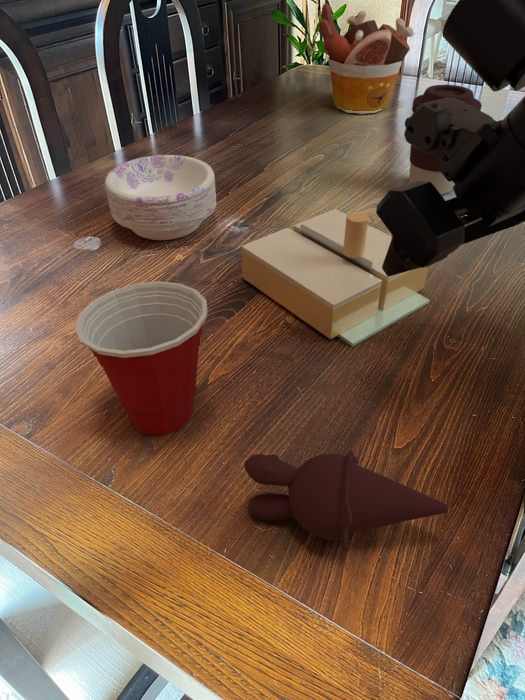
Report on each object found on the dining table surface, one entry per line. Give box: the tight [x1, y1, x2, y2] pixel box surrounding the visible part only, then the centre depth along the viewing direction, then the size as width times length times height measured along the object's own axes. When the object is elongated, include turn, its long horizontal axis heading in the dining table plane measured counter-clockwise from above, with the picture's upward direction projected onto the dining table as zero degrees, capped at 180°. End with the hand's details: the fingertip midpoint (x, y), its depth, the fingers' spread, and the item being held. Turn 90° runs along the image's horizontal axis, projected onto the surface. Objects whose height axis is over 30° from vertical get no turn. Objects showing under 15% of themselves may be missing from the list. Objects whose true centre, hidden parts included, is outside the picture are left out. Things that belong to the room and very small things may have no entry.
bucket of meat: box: [318, 3, 415, 111], centre depth 119 cm, size 20×16×20 cm
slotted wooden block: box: [240, 208, 431, 348], centre depth 67 cm, size 20×16×5 cm
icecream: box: [244, 449, 449, 549], centre depth 41 cm, size 7×7×15 cm
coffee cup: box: [408, 84, 483, 196], centre depth 87 cm, size 10×10×15 cm
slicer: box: [300, 211, 374, 275], centre depth 65 cm, size 12×2×10 cm, turn 38°
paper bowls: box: [104, 154, 217, 241], centre depth 79 cm, size 15×15×8 cm
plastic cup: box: [74, 280, 208, 437], centre depth 49 cm, size 11×11×12 cm
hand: (417, 257), depth 53 cm, fingers open, 9 cm apart
